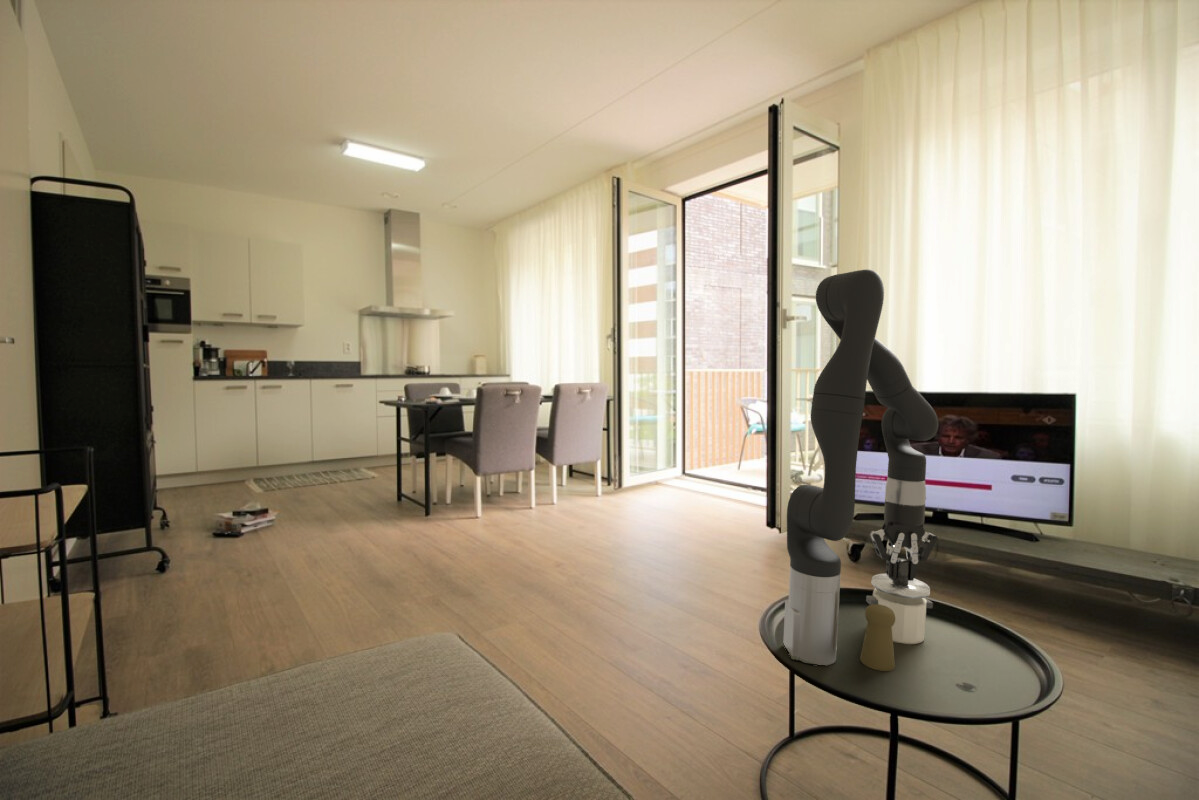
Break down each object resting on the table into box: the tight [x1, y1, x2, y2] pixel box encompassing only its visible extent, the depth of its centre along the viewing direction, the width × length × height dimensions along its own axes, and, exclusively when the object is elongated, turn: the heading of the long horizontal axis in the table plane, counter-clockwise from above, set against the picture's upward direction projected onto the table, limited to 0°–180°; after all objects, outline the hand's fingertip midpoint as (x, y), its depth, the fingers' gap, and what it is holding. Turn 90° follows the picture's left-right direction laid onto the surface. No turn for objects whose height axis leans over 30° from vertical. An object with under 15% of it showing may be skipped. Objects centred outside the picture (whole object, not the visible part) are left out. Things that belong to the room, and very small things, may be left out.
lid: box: [871, 557, 931, 599], centre depth 119 cm, size 11×11×6 cm
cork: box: [859, 604, 896, 672], centre depth 107 cm, size 6×6×11 cm
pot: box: [865, 588, 934, 645], centre depth 119 cm, size 13×10×8 cm
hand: (900, 578), depth 119 cm, fingers closed on lid, 3 cm apart
